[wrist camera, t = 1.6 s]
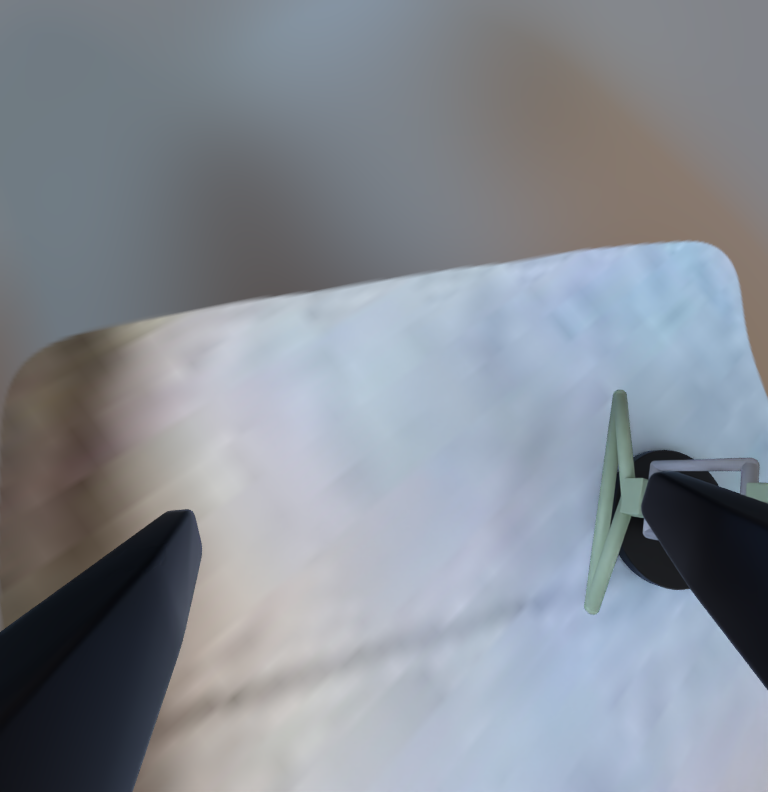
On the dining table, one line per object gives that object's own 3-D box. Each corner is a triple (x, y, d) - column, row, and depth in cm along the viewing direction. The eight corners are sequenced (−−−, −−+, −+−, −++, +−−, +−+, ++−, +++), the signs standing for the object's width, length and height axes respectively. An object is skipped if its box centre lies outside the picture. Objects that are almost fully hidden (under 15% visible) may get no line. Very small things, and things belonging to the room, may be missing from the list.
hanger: (623, 393, 24) (882, 330, 13) (594, 614, 21) (892, 759, 11) (608, 388, 24) (858, 320, 13) (577, 609, 21) (861, 753, 10)
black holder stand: (714, 600, 24) (938, 670, 16) (541, 554, 23) (684, 604, 14) (723, 469, 26) (928, 468, 18) (563, 418, 25) (703, 390, 16)
